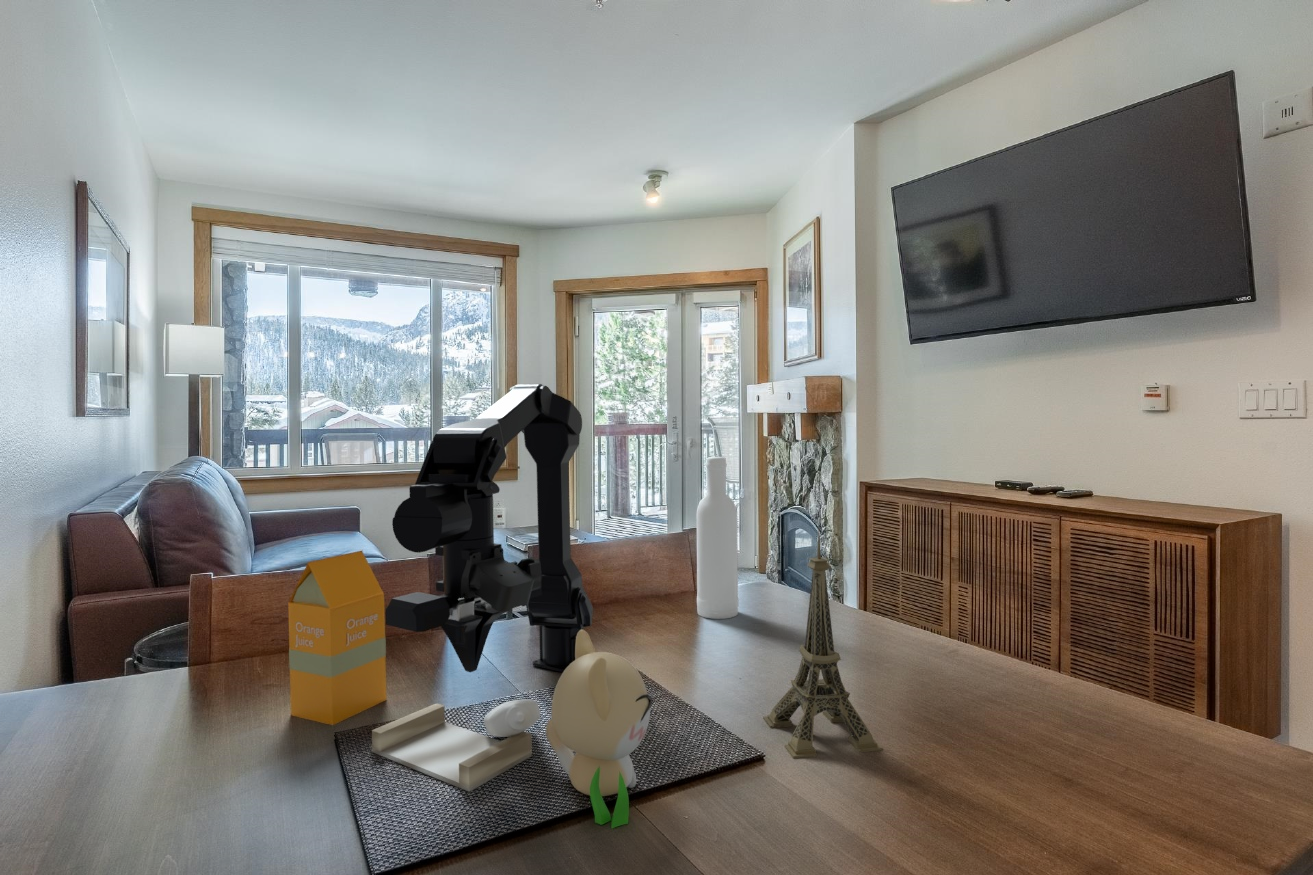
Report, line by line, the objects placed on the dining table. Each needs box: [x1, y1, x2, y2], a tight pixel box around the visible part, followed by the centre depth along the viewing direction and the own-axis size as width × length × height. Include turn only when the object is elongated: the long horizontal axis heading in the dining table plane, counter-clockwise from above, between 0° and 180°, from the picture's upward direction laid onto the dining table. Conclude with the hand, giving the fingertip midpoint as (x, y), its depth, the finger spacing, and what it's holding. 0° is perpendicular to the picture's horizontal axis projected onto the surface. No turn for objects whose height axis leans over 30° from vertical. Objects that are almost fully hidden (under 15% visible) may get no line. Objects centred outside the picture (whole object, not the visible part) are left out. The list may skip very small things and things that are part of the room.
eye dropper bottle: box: [483, 698, 541, 738], centre depth 80 cm, size 4×6×12 cm
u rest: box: [371, 703, 533, 792], centre depth 80 cm, size 16×9×2 cm, turn 56°
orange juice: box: [287, 549, 387, 726], centre depth 93 cm, size 8×9×20 cm
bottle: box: [696, 456, 739, 620], centre depth 135 cm, size 8×8×30 cm
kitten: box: [545, 629, 653, 829], centre depth 71 cm, size 15×10×15 cm, turn 17°
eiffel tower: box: [762, 523, 884, 759], centre depth 84 cm, size 11×11×25 cm
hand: (470, 670), depth 82 cm, fingers closed
